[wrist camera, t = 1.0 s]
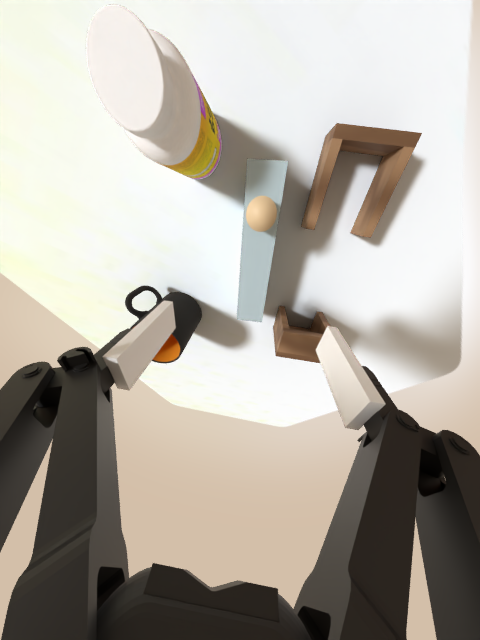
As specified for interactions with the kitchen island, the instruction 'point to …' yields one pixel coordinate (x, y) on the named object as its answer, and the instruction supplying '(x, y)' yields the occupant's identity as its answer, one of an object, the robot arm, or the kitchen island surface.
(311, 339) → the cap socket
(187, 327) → the mug
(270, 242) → the slat
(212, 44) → the kitchen island surface
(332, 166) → the brown wooden u-shaped frame
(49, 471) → the robot arm
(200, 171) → the supplement bottle
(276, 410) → the kitchen island surface
